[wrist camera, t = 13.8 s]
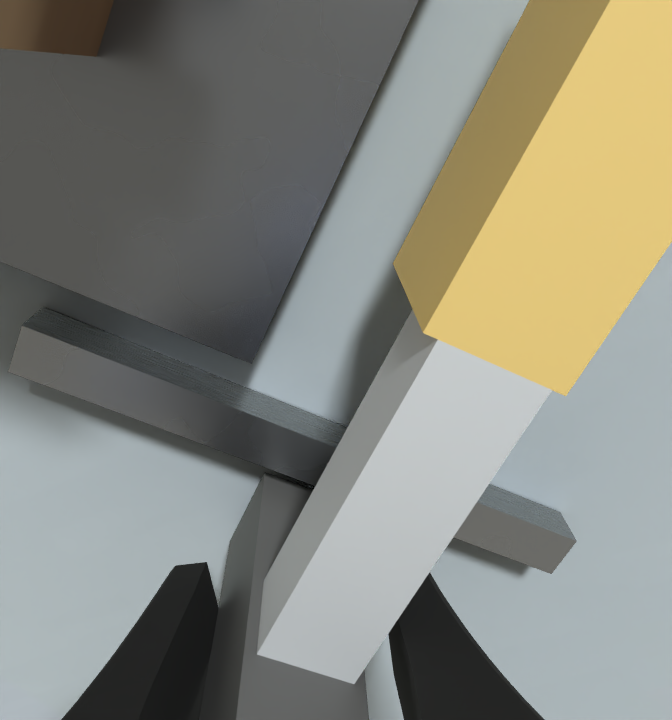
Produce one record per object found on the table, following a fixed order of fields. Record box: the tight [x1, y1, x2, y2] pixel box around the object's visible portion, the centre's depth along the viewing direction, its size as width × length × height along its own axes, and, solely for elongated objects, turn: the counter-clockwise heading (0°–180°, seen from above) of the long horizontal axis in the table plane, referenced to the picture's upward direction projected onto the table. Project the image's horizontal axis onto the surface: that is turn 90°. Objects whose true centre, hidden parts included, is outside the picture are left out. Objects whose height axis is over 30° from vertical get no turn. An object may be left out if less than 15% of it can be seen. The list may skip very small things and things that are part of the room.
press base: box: [0, 0, 576, 574], centre depth 10 cm, size 20×14×1 cm
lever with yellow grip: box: [199, 0, 672, 720], centre depth 9 cm, size 2×14×6 cm, turn 155°
